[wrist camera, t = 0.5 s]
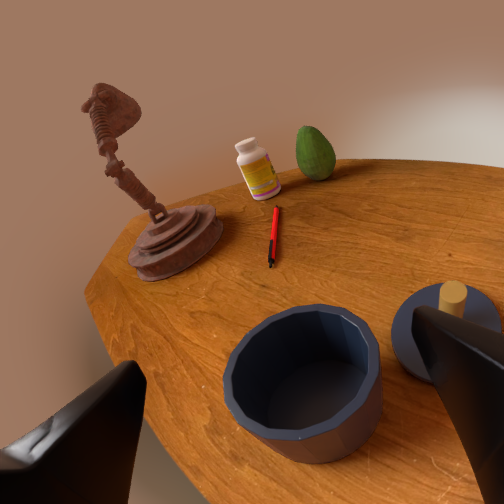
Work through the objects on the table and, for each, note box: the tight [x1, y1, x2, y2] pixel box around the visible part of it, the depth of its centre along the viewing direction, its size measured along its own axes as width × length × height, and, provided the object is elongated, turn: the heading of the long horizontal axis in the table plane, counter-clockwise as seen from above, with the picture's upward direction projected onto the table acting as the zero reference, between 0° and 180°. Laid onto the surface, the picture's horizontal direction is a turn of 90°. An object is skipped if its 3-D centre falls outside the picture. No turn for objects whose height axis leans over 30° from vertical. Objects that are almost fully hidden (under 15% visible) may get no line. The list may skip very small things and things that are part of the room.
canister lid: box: [391, 280, 502, 383], centre depth 19 cm, size 11×11×6 cm
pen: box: [268, 205, 279, 268], centre depth 47 cm, size 1×19×1 cm, turn 172°
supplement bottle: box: [235, 137, 281, 200], centre depth 59 cm, size 7×7×13 cm
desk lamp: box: [81, 83, 223, 281], centre depth 50 cm, size 21×32×40 cm, turn 18°
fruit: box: [296, 126, 336, 180], centre depth 55 cm, size 8×8×12 cm
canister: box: [223, 304, 383, 464], centre depth 19 cm, size 10×10×8 cm
